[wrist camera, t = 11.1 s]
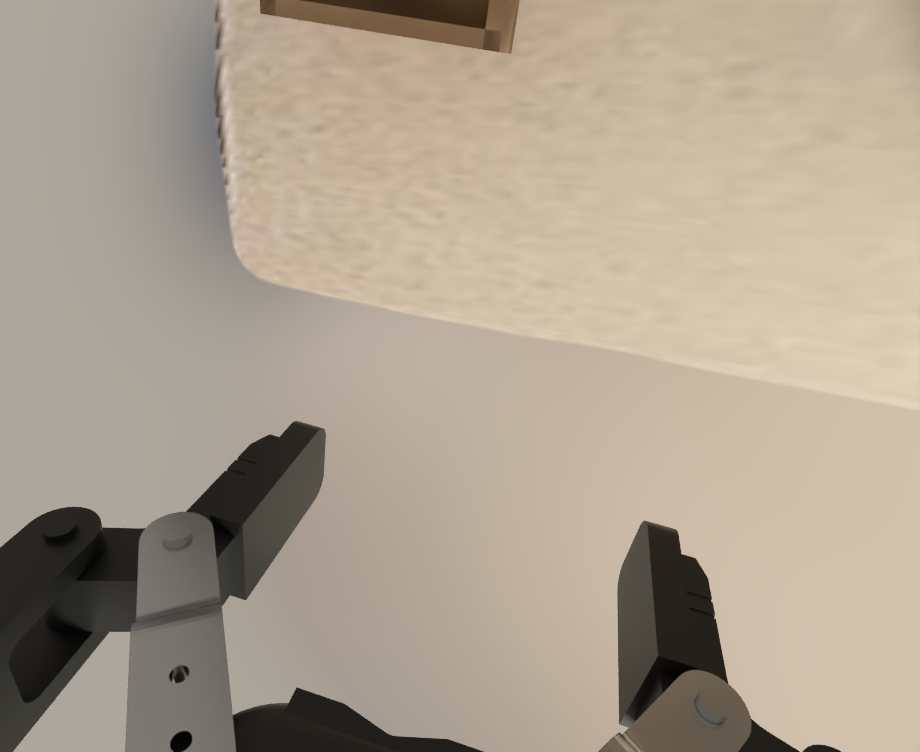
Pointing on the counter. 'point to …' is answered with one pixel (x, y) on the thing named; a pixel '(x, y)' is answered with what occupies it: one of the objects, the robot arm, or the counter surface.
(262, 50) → the counter surface
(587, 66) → the counter surface
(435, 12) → the rack
